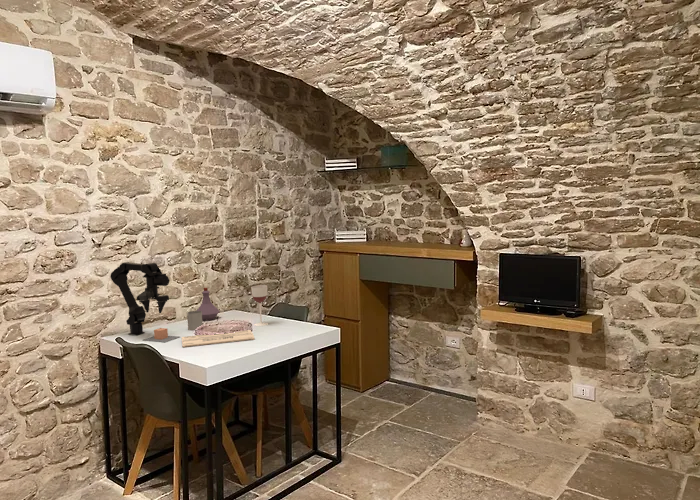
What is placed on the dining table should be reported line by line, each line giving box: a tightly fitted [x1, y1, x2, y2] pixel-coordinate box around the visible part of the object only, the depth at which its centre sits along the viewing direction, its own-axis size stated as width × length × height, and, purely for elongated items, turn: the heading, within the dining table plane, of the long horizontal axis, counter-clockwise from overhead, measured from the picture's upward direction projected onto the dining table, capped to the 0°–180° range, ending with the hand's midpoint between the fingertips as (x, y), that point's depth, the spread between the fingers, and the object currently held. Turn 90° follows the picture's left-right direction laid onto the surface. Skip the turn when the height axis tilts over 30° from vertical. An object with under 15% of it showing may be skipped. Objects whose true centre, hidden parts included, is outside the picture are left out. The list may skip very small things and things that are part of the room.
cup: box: [186, 310, 204, 331], centre depth 326 cm, size 8×8×10 cm
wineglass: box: [250, 284, 269, 327], centre depth 331 cm, size 9×10×23 cm
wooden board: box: [181, 329, 255, 348], centre depth 297 cm, size 37×19×3 cm, turn 108°
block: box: [153, 327, 169, 340], centre depth 304 cm, size 5×5×5 cm
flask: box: [196, 287, 221, 322], centre depth 352 cm, size 16×16×20 cm
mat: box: [142, 335, 180, 343], centre depth 305 cm, size 16×12×1 cm
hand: (153, 312), depth 312 cm, fingers open, 9 cm apart
